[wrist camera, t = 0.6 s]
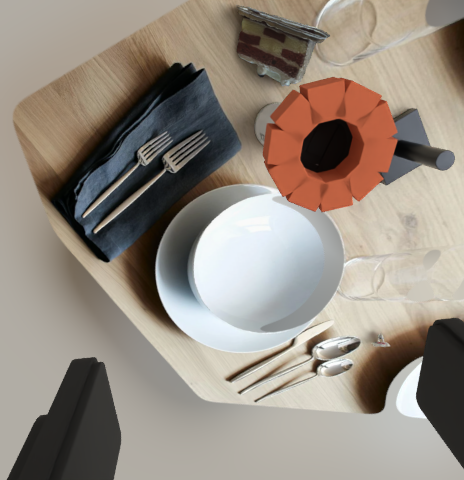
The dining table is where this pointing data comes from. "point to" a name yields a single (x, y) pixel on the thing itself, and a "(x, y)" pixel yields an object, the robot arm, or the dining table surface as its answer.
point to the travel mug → (314, 141)
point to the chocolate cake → (277, 45)
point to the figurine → (381, 342)
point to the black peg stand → (414, 149)
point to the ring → (360, 154)
